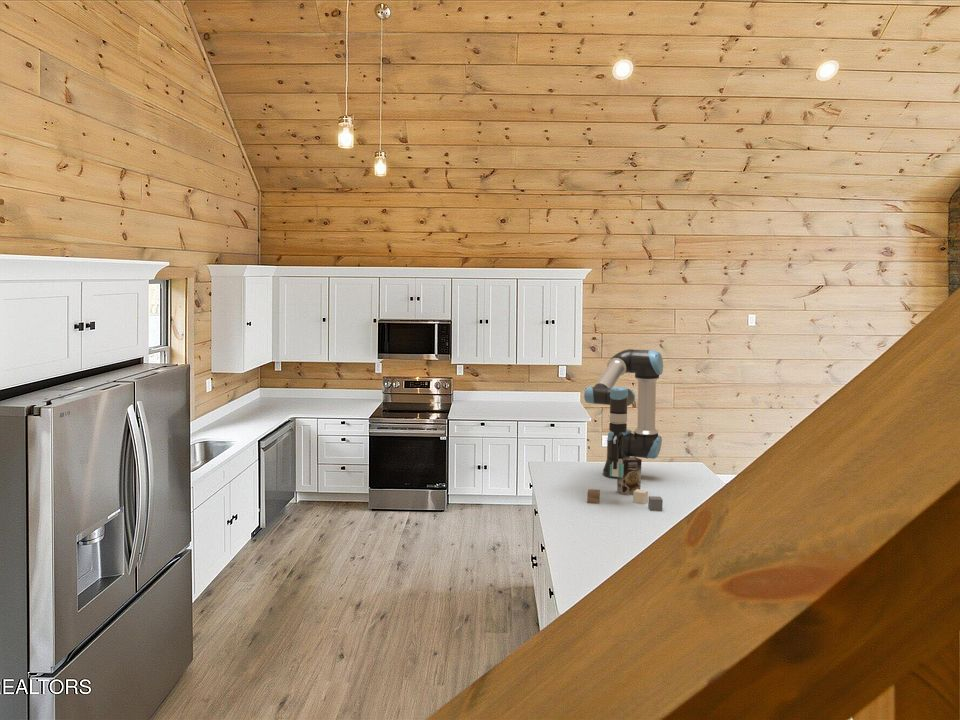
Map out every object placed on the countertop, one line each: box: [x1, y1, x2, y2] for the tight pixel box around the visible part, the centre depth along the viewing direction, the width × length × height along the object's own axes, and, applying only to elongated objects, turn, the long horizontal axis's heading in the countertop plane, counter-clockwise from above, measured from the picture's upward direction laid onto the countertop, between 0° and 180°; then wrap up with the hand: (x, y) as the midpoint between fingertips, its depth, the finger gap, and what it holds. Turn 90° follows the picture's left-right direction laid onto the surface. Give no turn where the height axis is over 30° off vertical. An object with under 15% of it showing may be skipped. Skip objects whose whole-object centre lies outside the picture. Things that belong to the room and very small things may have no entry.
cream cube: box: [632, 488, 649, 505], centre depth 341 cm, size 5×5×5 cm
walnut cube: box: [586, 488, 601, 505], centre depth 340 cm, size 5×5×5 cm
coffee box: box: [616, 456, 643, 495], centre depth 357 cm, size 9×6×16 cm
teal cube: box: [610, 463, 624, 477], centre depth 340 cm, size 5×5×5 cm
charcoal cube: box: [647, 495, 664, 512], centre depth 330 cm, size 5×5×5 cm
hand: (616, 474), depth 340 cm, fingers closed on teal cube, 5 cm apart
